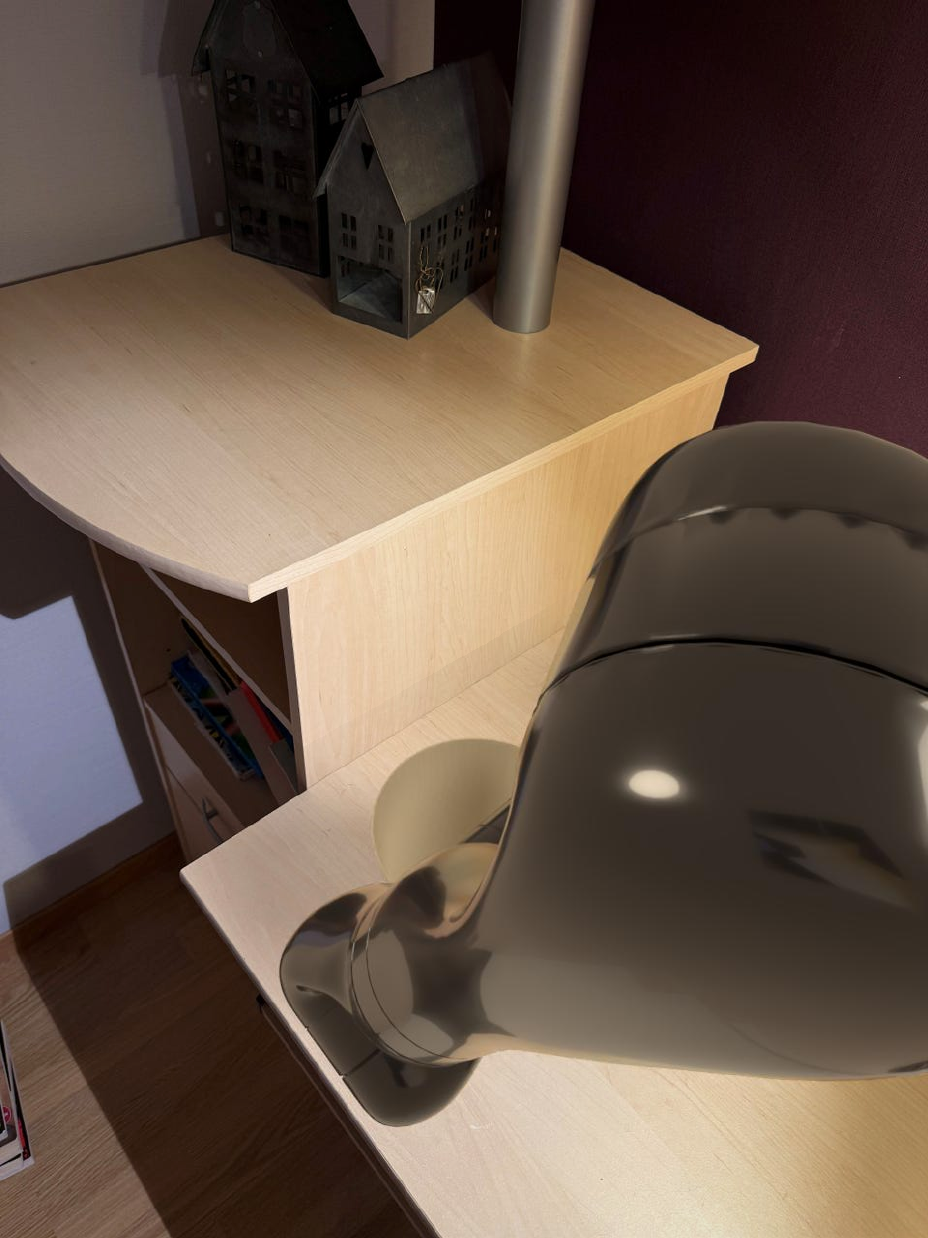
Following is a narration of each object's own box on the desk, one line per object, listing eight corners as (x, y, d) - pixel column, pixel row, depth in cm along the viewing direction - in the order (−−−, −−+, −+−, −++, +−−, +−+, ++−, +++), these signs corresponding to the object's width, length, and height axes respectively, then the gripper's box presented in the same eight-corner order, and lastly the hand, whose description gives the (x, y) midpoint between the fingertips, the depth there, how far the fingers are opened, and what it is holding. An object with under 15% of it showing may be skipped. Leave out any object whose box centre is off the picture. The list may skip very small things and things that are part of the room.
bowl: (435, 1033, 65) (444, 972, 58) (336, 859, 74) (332, 788, 67) (610, 928, 71) (637, 862, 64) (499, 780, 81) (511, 708, 74)
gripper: (723, 849, 46) (872, 689, 55) (517, 689, 53) (679, 569, 61) (687, 921, 51) (829, 764, 60) (504, 767, 58) (655, 646, 67)
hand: (753, 665), depth 61 cm, fingers open, 8 cm apart
